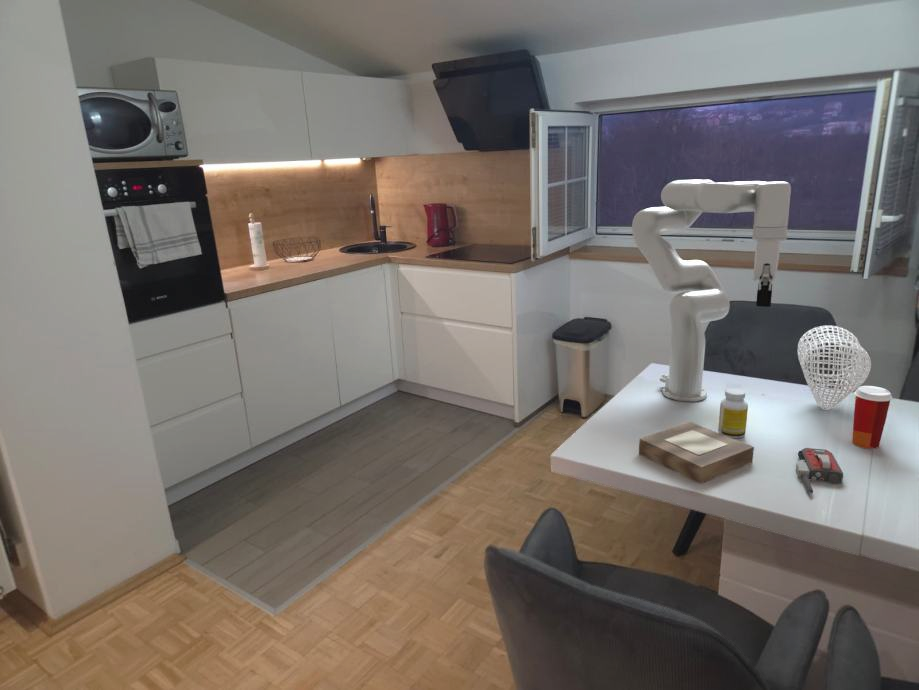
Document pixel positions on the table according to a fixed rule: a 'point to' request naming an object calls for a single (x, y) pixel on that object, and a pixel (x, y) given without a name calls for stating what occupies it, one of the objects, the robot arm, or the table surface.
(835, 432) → the table surface
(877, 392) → the paper cup
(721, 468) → the stand
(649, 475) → the table surface
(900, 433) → the table surface
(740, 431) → the pill bottle
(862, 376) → the heart
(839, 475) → the walkie-talkie
